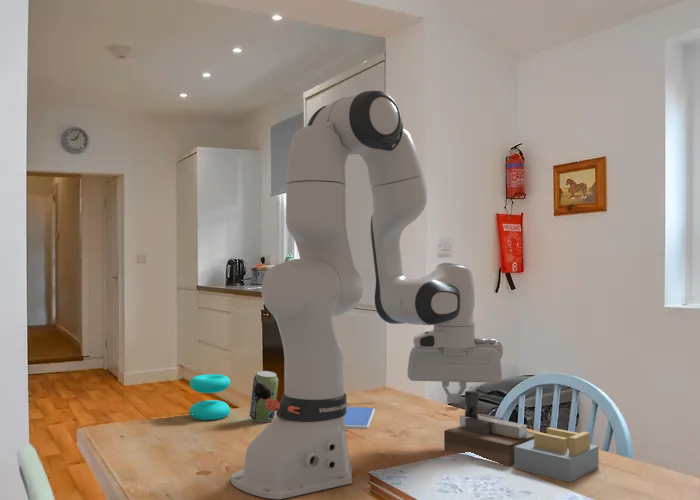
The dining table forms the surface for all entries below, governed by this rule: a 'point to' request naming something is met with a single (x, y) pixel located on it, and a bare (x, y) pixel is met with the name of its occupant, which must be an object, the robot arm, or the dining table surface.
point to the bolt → (491, 419)
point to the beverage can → (263, 395)
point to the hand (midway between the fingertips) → (453, 402)
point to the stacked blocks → (558, 454)
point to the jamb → (483, 441)
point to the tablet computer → (358, 417)
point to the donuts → (209, 407)
